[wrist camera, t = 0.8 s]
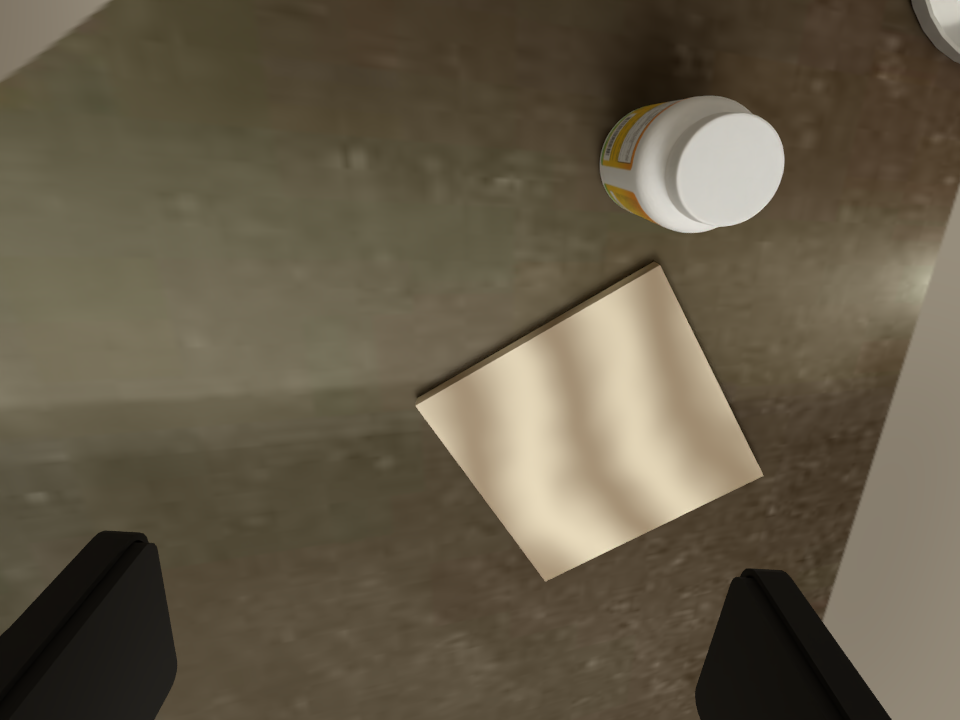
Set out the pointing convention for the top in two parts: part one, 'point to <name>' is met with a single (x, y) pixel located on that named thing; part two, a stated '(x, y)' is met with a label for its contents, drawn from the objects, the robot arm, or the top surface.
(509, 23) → the top surface
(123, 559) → the robot arm
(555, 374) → the birch board
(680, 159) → the supplement bottle
